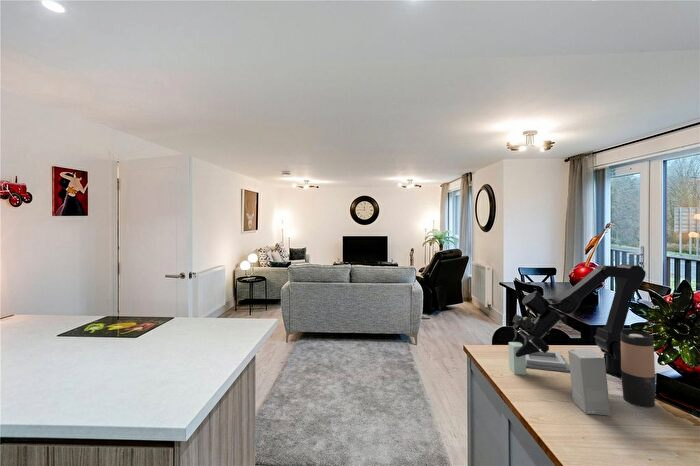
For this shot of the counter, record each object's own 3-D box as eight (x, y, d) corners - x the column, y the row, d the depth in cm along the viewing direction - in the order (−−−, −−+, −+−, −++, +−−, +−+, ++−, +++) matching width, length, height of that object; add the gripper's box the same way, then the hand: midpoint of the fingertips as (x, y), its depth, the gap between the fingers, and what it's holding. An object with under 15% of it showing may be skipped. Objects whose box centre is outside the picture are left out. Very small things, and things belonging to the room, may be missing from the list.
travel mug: (647, 396, 101) (645, 331, 101) (661, 409, 94) (659, 338, 94) (617, 393, 104) (615, 329, 104) (628, 405, 97) (626, 336, 97)
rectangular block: (520, 368, 124) (519, 342, 124) (526, 374, 119) (525, 346, 119) (509, 368, 125) (508, 342, 125) (514, 374, 120) (513, 346, 120)
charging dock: (562, 356, 135) (561, 351, 135) (572, 372, 120) (571, 366, 120) (518, 352, 141) (518, 347, 141) (522, 367, 126) (522, 360, 126)
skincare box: (611, 416, 91) (609, 359, 91) (582, 414, 93) (580, 357, 93) (595, 401, 99) (593, 348, 100) (568, 399, 101) (567, 347, 101)
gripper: (517, 302, 131) (488, 330, 132) (538, 313, 112) (505, 345, 114) (538, 322, 130) (510, 350, 131) (563, 337, 111) (530, 369, 113)
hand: (513, 352), depth 122 cm, fingers open, 6 cm apart
